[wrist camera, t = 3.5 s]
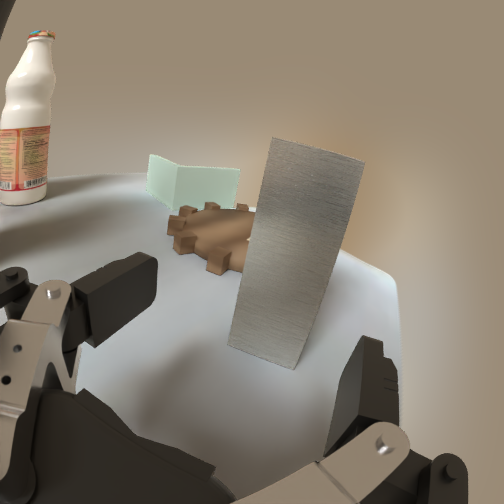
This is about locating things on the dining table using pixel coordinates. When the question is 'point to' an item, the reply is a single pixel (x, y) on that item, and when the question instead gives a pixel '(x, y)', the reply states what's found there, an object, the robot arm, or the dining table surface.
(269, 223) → the brushed metal block
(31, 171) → the fruit juice
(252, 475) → the dining table surface
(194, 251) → the sprocket plate
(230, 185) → the l-shaped corner panel
